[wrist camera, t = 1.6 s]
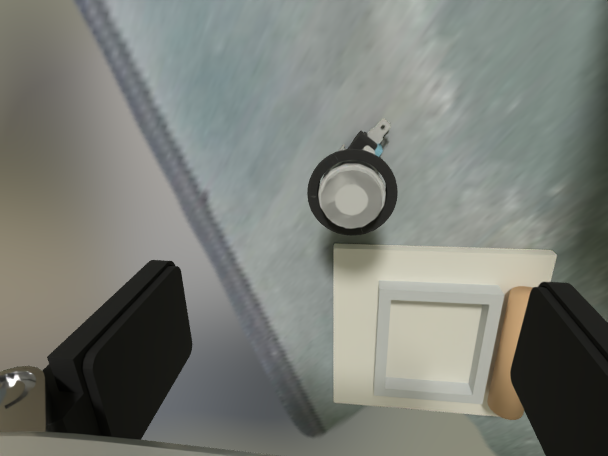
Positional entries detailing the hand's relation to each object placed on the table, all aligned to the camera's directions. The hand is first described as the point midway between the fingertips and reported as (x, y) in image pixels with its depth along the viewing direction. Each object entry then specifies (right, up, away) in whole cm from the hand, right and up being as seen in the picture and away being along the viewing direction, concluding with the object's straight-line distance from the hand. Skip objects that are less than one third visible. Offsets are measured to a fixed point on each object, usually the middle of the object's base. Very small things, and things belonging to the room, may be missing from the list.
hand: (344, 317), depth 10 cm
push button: (+3, +8, +21) cm, 23 cm away
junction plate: (+11, -7, +26) cm, 29 cm away
